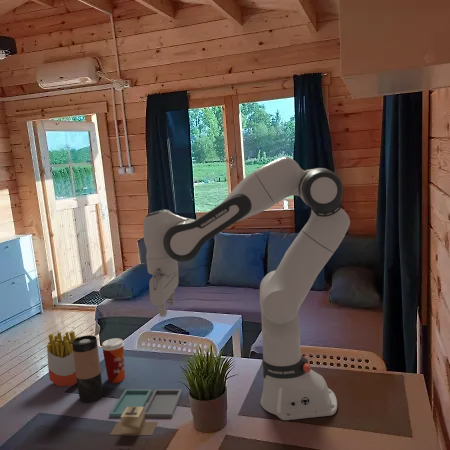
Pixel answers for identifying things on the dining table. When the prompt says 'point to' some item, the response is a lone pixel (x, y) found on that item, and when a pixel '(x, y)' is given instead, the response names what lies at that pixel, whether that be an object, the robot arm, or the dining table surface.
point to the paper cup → (114, 359)
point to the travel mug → (87, 368)
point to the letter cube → (133, 420)
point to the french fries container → (61, 359)
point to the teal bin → (130, 400)
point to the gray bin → (163, 403)
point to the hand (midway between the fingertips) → (167, 310)
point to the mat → (146, 430)
